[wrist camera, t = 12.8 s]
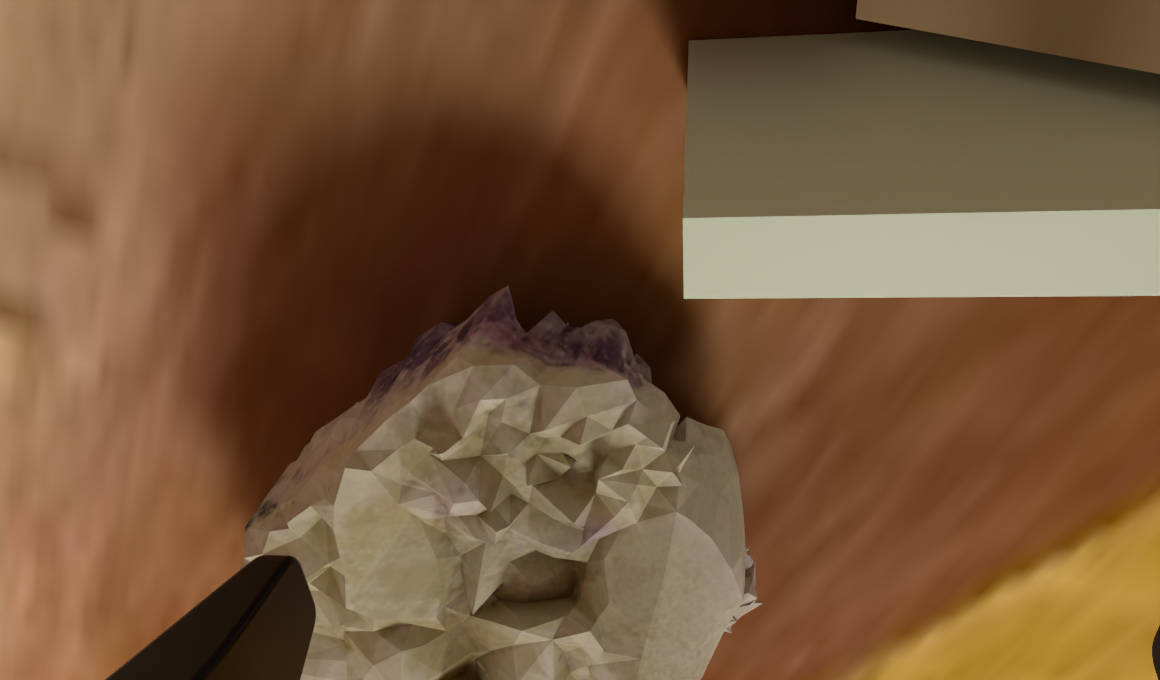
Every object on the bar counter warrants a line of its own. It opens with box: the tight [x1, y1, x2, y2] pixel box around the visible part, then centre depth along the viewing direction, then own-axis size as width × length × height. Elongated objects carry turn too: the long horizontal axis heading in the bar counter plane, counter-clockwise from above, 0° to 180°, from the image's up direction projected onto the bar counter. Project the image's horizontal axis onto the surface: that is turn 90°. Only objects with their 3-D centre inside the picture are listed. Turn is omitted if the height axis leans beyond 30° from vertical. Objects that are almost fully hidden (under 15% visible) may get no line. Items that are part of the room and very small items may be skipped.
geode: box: [240, 285, 763, 680], centre depth 24 cm, size 17×9×15 cm
